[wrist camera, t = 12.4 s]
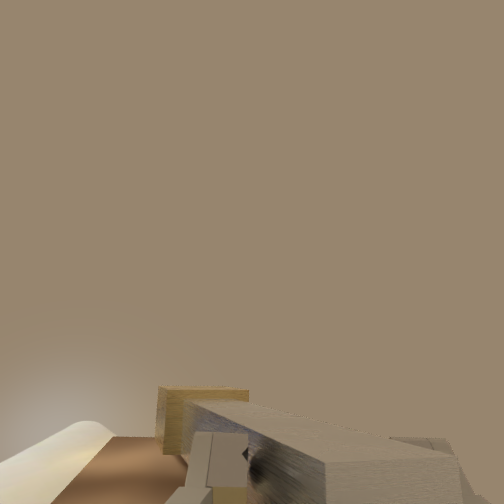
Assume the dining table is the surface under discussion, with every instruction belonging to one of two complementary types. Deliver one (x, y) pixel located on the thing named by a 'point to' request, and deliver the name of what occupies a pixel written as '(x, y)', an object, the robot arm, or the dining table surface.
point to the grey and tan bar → (306, 453)
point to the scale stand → (127, 475)
